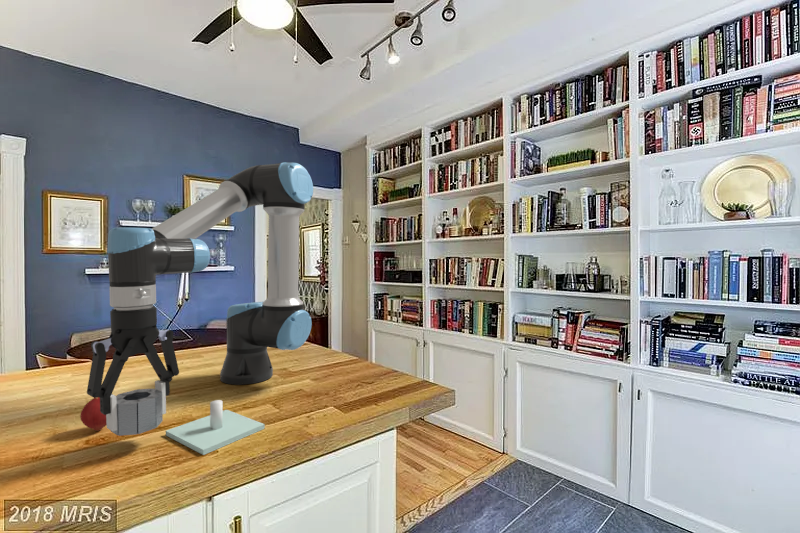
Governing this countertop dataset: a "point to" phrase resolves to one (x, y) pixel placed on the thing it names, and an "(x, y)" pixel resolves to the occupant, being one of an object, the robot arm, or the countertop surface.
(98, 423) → the onion
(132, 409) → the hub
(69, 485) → the countertop surface
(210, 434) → the post block
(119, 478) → the countertop surface
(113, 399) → the robot arm
